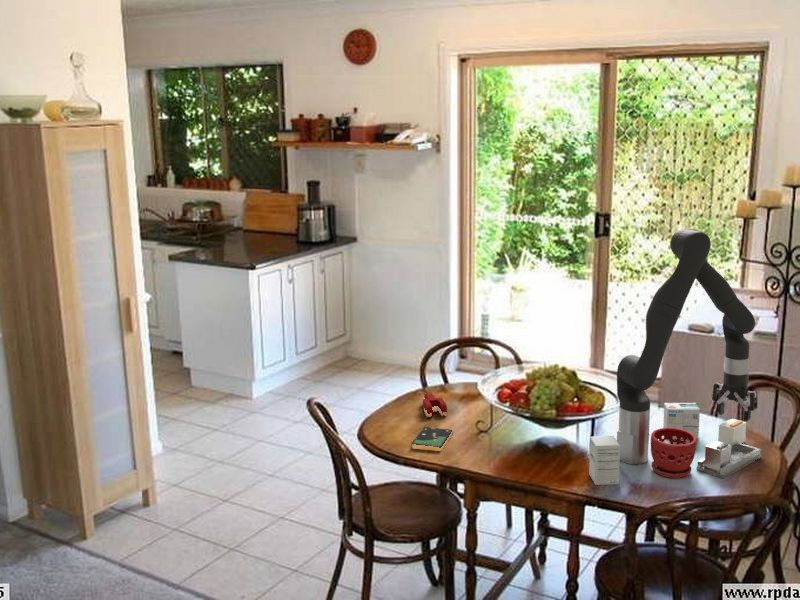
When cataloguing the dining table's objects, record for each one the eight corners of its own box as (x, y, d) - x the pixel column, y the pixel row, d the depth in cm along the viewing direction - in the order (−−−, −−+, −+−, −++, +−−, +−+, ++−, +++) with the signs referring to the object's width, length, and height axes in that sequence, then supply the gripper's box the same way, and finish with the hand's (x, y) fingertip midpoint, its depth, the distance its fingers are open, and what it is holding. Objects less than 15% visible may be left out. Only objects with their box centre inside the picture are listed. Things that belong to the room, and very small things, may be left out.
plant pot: (642, 473, 254) (643, 437, 252) (661, 459, 264) (662, 424, 261) (683, 485, 246) (685, 447, 243) (701, 470, 255) (703, 433, 253)
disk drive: (423, 434, 291) (411, 450, 278) (423, 426, 291) (411, 442, 277) (452, 436, 288) (441, 453, 275) (452, 429, 288) (441, 445, 274)
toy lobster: (447, 417, 305) (446, 404, 304) (428, 419, 304) (427, 406, 302) (436, 403, 320) (436, 390, 319) (418, 404, 319) (418, 392, 318)
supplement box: (588, 474, 255) (589, 435, 252) (612, 473, 255) (614, 435, 252) (594, 485, 248) (595, 445, 245) (619, 484, 248) (620, 444, 245)
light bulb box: (694, 432, 285) (695, 402, 282) (699, 439, 278) (700, 409, 276) (662, 431, 286) (663, 401, 283) (666, 439, 279) (667, 408, 277)
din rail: (723, 478, 249) (725, 451, 247) (696, 469, 256) (697, 443, 254) (760, 457, 263) (762, 432, 261) (733, 449, 270) (735, 424, 268)
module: (732, 449, 270) (733, 427, 268) (717, 444, 274) (719, 422, 272) (744, 442, 275) (746, 420, 273) (730, 438, 279) (732, 416, 277)
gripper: (709, 368, 272) (707, 415, 276) (751, 378, 261) (748, 426, 265) (721, 362, 277) (719, 409, 280) (763, 372, 266) (760, 420, 270)
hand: (733, 417), depth 273 cm, fingers open, 8 cm apart
